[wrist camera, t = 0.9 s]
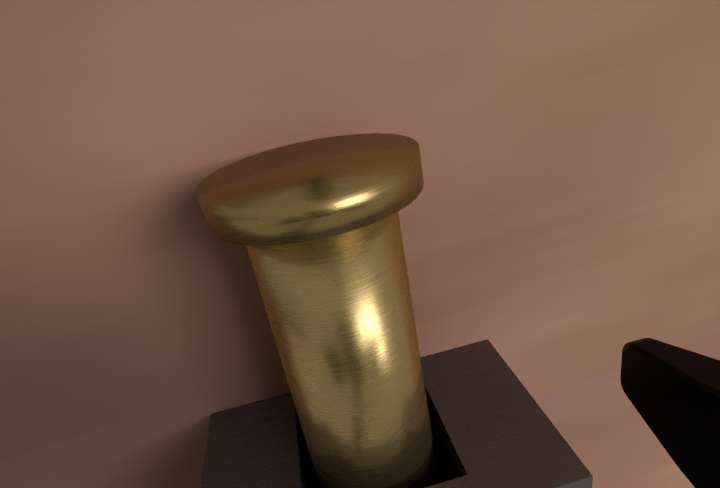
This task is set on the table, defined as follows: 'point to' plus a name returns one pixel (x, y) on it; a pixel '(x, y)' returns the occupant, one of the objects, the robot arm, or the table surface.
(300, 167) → the brass cylinder
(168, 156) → the table surface
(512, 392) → the housing
